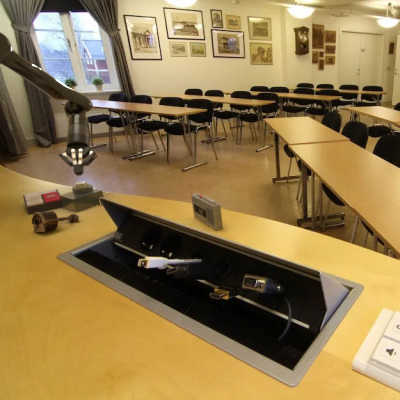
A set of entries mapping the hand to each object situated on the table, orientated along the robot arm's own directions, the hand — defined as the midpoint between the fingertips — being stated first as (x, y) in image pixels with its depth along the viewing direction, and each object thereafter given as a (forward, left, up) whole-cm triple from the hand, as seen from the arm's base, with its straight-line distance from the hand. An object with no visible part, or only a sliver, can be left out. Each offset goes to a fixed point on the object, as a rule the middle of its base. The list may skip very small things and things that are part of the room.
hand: (78, 174), depth 125 cm
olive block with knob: (-2, -1, -12) cm, 13 cm away
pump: (0, 0, -5) cm, 5 cm away
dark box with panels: (-9, +13, -13) cm, 20 cm away
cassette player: (+9, -56, -13) cm, 58 cm away
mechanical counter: (-17, -14, -13) cm, 25 cm away
